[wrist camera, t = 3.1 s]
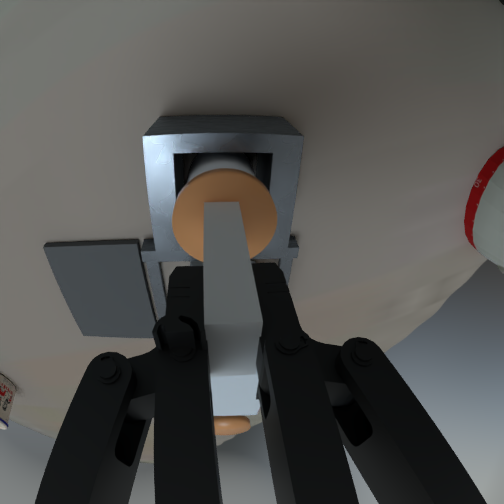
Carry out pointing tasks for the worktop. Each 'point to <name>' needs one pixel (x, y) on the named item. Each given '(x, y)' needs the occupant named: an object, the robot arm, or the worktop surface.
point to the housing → (218, 140)
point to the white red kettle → (488, 211)
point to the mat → (104, 287)
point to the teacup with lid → (5, 400)
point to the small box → (234, 390)
